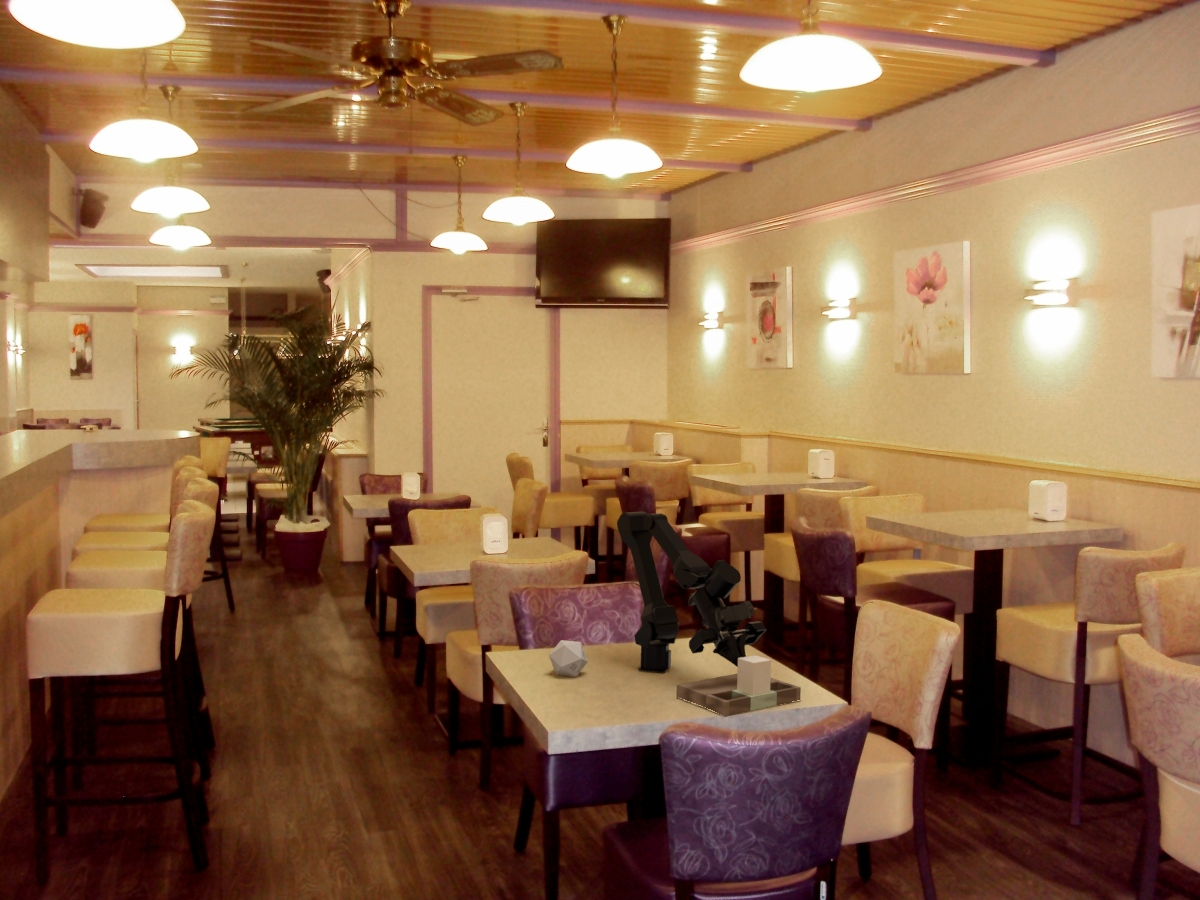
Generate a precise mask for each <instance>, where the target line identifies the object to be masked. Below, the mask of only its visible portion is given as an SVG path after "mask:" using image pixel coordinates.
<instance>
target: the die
mask: <svg viewBox="0 0 1200 900" xmlns="http://www.w3.org/2000/svg"><path fill="white" fill-rule="evenodd" d="M548 657H549V661H550V662H551V665H552V667H553V671H554V673H555V675H556V676H562V677H563V676H565V677H574V678H577V677H578V675H579V674H580V673H581V672H582V670H583V669H584V668H585V666H586V665H587V664H588V663H589V661H588V660H589V659H588V658H587V655H586V652H585V649H584V646H583V644H582V642H581V641H575V640H574V641H572V640H563V639H561V640H559V642H558V643H557V644H556V646H555V647H554V648H553V649H552V651H550V653H549V654H548Z"/></svg>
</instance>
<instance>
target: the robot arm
mask: <svg viewBox="0 0 1200 900" xmlns="http://www.w3.org/2000/svg"><path fill="white" fill-rule="evenodd" d="M616 527H617V531H618V533H619V536H620V539H621V541H622V542H623V543H624V544H625V545H626V546H627V547H628V548H629V549H630V551H631V557H632V560H633V564H634V568H635V572H636V577H637V581H638V585H639V588H640V589H639V590H640V593H641V598H642V600H643V605H644V607H643V610H642V614H641V616H640V619H641V620H640V621H641V627H639V629H638V630H637V632H636V633H635V634H634V635H633V636H634V641H635V644H636V645H638V646H640V667H639V668H638V671H641V672H651V673H666V672H667V671H668V670H669V669H670V668H671V665H672V650H671V649H670V645H671V644H672V645H675V642H676V639H677V635H678V632H679V629H680V627H679V623H680V620H679V618H678V616H677V610H676V607H675V606H674V605H669V604H668V603H667V602H666V601H665V597H664V594H663V590H662V587H661V582H660V578H659V574H658V570H657V566H656V562H655V558H654V555H653V550H652V546H651V543H652V540H653V538H654V540H655V541H656V543H657V544H658V545H659V546H660V548H661V549H662V551H663V552H664V553H665V555H666V556H667V558H668V560H669V561H670V562H671V563H672V566H673V572H672V573H673V576H674V577H675V579H676V581H677V583H678V585H679V587H681V588H682V589H683V590H691V589H696V590H695V591H694V592H691V593H689V599H688V602H687V605H688V606H690V607H691V606H696V608H697V610H698V611H699V613H700V616H701V617H702V620H701V622H700V623H701V625H702V626H703V627H707V628H702V629H701V628H700V629H698V630H697V631H696V632H695V634H694V635H692V637H691V638H690V639H689V641H688V648H689V650H690V652H691V653H692V654H700V653H702V652H704V649H705V647H704V645H709V644H714V649H713V650H712V653H713V654H717V655H719V656H720V657H722V658H724V659H725V660H726V661H728V662H730V663H731V664H733V665H734V666H735V667H737V668H738V658H741V657H747V655H746V646H750V645H754V644H756V642H757V641H759V639H760V638H761V637H762V636H763V635H764V634H765V633H766V632H767V628H766V627H765V625H764V623H763V622H762V621H759V620H757V621H749V622H746V624H745V625H744V626H743V627H742V628H741V629H739V628H740V627H741V625H742V624H743V623H742V621H745V620H749V619H752V615H754V614H755V609H754V606H753V604H752V603H751V601H750V600H746V601H745V600H744V601H743V602H740V603H739V604H737V605H735V604H734V605H732V606H730V605H726V604H725V603H724V601H723V600H722V599H726V598H727V597H728V596H729V595H730V594H731V592H732V591H733V590H734V589H735V588H736V587H737V585H738V584H739V583H740V582H741V579H742V576H741V573H740V571H739V570H738V569H736V567H734V566H733V565H732V564H729V563H727V562H726V560H725V559H721V560H717V561H716V562H715V564H714V565H713V567H712V568H711V566H710V565H709V564H708V563H707V562H706V561H705V560H704V559H703V558H701V557H700V556H698V555H696V554H694V553H693V552H692V551H690V550H689V548H688V547H687V545H686V544H685V543H684V541H683V540H682V539H681V537H680V535H678V533H677V532H676V530H675V529H674V527H673V526H672V525H671V523H670V522H669V518H668V517H667V515H666V514H663V513H662V512H661V513H658V512H657V513H648V512H646V511H631V512H622V513H621V514H620V516H619V517H618V519H617V521H616ZM738 627H739V628H738Z"/></svg>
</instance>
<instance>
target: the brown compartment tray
mask: <svg viewBox="0 0 1200 900" xmlns="http://www.w3.org/2000/svg"><path fill="white" fill-rule="evenodd" d="M737 674H738V673H733V674H727V675H722V676H716V677H711V678H705V679H700V680H694V681H688V682H683V683H676V691H675V693H676V696H675V697H679V698H682V699H685V700H687V701H690V702H693V703H696V704H698V705H701V706H703V707H706V708H708V709H711V710H713V711H715V712H717V713H719V714H718V715H720V714H721V715H720V716H722V715H723V716H722V717H730V716H734V715H739V714H743V712H744V713H748V711H749V712H753V711H752V710H754V711H757V710H756V709H759V710H762V709H761V708H763V709H767V708H766V707H768V708H771V707H770V706H773V707H776V706H775V705H778V706H781V705H780V704H783V705H785V704H784V703H788V704H790V703H789V702H792V701H797V700H800V701H801V691H802V689H801V688H802V687H801V686H799V685H795V684H792V683H788V682H786V681H782V680H779V679H776V678H773V677H771V678H770V692H768V693H763V694H758V695H750V694H747V693H744V692H741V691H739V690H737ZM797 702H798V701H797ZM717 713H716V714H717Z"/></svg>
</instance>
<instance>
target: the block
mask: <svg viewBox="0 0 1200 900" xmlns="http://www.w3.org/2000/svg"><path fill="white" fill-rule="evenodd" d="M771 669H772V660H771V659H769V658H765V657H762V656H759V655H757V654H756V655H755V654H754V655H748V656H747V655H746V657H741V658H738V667H737V673H736V674H737V690H739V691H741V692H744V693H747V694H750V695H758V694H763V693H768V692H770V678H772V676H771V674H772V673H771V672H772V671H771Z"/></svg>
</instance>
